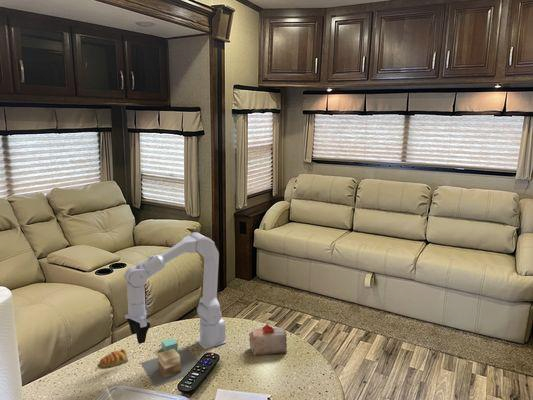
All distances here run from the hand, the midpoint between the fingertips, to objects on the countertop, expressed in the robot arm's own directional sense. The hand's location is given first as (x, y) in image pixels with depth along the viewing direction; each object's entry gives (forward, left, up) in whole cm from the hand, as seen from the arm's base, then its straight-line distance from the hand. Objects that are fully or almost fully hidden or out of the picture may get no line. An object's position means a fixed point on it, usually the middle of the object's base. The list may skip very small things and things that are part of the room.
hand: (138, 337), depth 141 cm
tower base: (-7, +10, -10) cm, 16 cm away
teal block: (-12, -3, -10) cm, 16 cm away
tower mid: (-7, +10, -7) cm, 14 cm away
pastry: (+7, -6, -10) cm, 14 cm away
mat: (-9, +8, -10) cm, 16 cm away
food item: (-43, +17, -10) cm, 48 cm away
